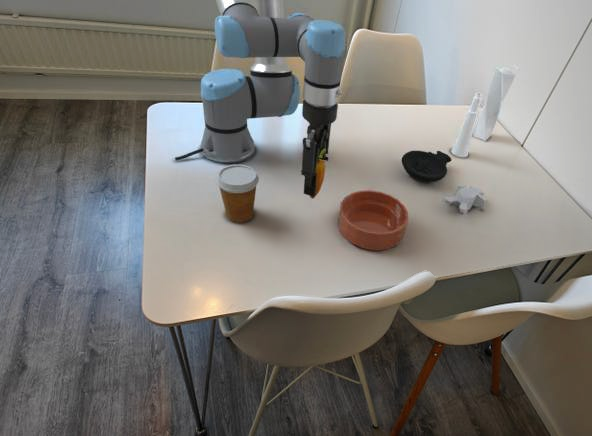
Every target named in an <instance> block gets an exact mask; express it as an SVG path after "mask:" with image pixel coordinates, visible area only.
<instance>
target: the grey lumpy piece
mask: <svg viewBox="0 0 592 436" xmlns="http://www.w3.org/2000/svg"><path fill="white" fill-rule="evenodd" d="M455 192H456V194H455V195H454V196H444V197H443V198H442V202H444V203H445V204H449V203H453V204H454V205H455V206H457V207H458V208H459V212H460V213H461V214H464V215H467V213H468V211H470V210H471V208H472V207H473V206H474V207H478V208H479V207H480V208H484V207H485V205H486V203H487V200H486V199H485V198H484V195H485V192H483V191H482V190H480V189H479V188H478V187H477V188H476V186H473V185H469V187H467V186H463V185H458V186H457V188H456V190H455Z"/></svg>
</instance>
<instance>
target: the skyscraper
mask: <svg viewBox="0 0 592 436" xmlns="http://www.w3.org/2000/svg"><path fill="white" fill-rule="evenodd" d="M511 68H516V71H515V73H514V72H512V71H511ZM518 72H519V67H518V66H516V65H514V64H513V65H510V66H509V67H502V68H500V67H498V66H496V67H495V68H494V70H493V74H492V76H491V79H490V82H489V86H488V90H487V94H486V100H485V102H484V104H483V106H482V109H481V110H480V112H479V115H478V117H477V121H476V124H475V128H474V131H473V134H472V137H475V138H477V139H480V140H483V141H484V142H486V141H487V140H488V139H489V138H490V137H491V135H492V133H493V131H494V129H495V127H496V125H497V121H498V118H499V115H500V112H501V107H502V103H503V101H504V99H505V98H506V96H507V94H508V92H509V90H510V88H511V87H512V84H513V82H514V79H515V77H516V75H517V74H518Z"/></svg>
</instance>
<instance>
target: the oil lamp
mask: <svg viewBox="0 0 592 436" xmlns="http://www.w3.org/2000/svg"><path fill="white" fill-rule="evenodd" d="M451 162H452V158H451V156H450V155H449V154H447V153H445V152H443V151H441V150H436V153H433V152H432V151H423V150H410V151H407V152H405V153H404V154H403V155H402V157H401V164H402V167H403V169H404V171H405V172H406V174H407V175H409V176H410V178H412V179H414V180H416V181H419V182H422V183H426V184H427V183H428V184H429V183H436V182H439V181H441V180H442V179H444V178H445V177H446V176H447V174H448V167H447V165H448V163H451Z"/></svg>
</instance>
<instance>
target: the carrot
mask: <svg viewBox="0 0 592 436" xmlns="http://www.w3.org/2000/svg"><path fill="white" fill-rule="evenodd" d="M325 151H326V149H323V150H322V151H321V153H320V155H319V157H318V161H317V167H316V173H317V179H316V190H315V196H314V197H313V196H310V195H308V196H309V197H310V199H315V197H316V196H317V195H318V194H319V192H320V191H321V189H322V186H323V184H324V180H325V173H326V162H325V160H321V159H320V158H322V157H323V156H322V155H323V154H324V153H325ZM324 162H325V163H324Z"/></svg>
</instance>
